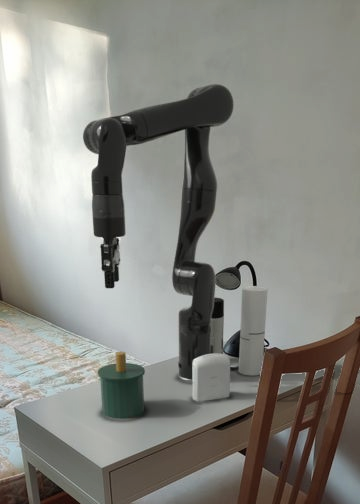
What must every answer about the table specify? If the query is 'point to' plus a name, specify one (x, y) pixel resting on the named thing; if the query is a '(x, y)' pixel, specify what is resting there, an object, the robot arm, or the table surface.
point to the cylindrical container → (252, 329)
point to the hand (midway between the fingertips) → (112, 284)
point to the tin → (122, 398)
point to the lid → (121, 370)
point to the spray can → (217, 326)
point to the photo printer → (211, 377)
